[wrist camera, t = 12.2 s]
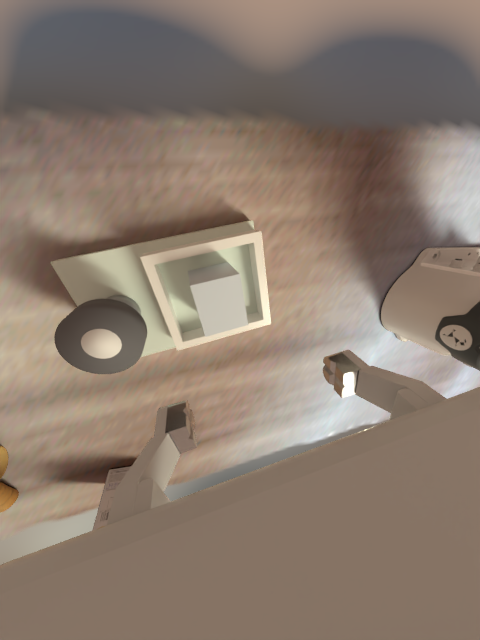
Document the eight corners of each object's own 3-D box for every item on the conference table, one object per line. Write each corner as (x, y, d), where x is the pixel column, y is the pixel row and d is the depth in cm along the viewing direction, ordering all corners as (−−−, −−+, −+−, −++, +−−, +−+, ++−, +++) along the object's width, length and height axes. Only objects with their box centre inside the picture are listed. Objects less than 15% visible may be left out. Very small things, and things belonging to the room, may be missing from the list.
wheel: (130, 290, 20) (124, 300, 18) (157, 347, 23) (154, 362, 21) (51, 309, 19) (34, 321, 16) (91, 366, 22) (81, 383, 20)
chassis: (249, 220, 25) (260, 221, 22) (261, 317, 32) (271, 329, 29) (57, 259, 22) (35, 267, 19) (116, 358, 29) (108, 377, 26)
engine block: (227, 261, 25) (239, 273, 20) (235, 304, 28) (248, 324, 23) (187, 270, 25) (189, 285, 20) (200, 314, 28) (205, 336, 23)
